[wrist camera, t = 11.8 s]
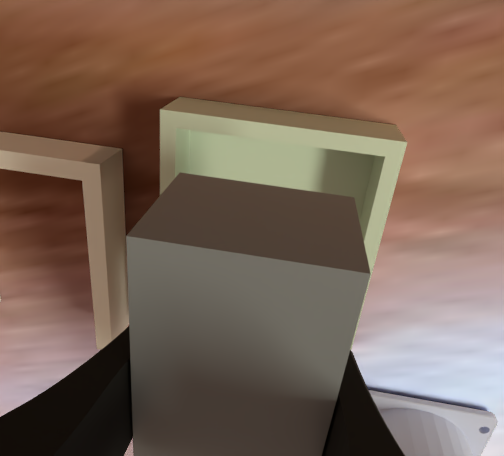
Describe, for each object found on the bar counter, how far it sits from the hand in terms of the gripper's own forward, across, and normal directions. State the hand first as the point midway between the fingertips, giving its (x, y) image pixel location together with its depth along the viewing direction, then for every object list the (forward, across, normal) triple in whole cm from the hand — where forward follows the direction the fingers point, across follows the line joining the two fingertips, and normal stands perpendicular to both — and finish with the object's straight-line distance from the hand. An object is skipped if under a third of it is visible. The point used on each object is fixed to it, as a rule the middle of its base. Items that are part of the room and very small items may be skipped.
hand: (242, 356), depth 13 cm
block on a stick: (+2, 0, +1) cm, 2 cm away
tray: (+8, 0, 0) cm, 8 cm away
